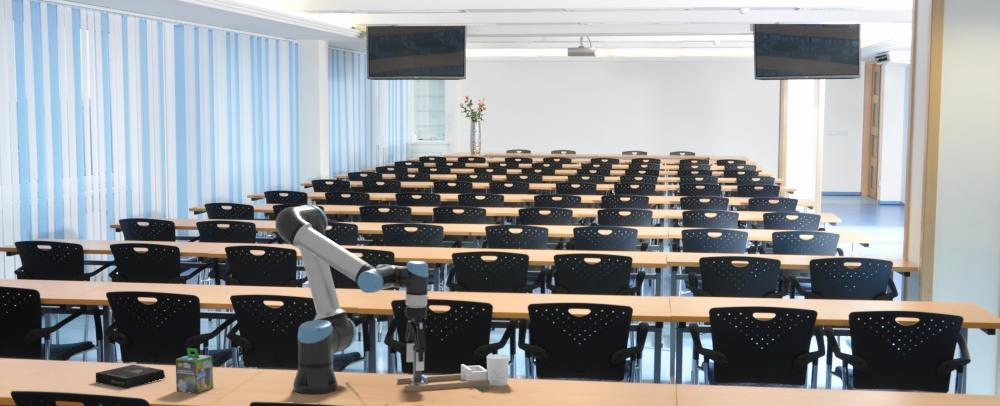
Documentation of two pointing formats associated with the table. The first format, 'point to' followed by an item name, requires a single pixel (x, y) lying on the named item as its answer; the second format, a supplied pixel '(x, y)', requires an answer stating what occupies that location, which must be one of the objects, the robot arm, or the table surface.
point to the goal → (473, 373)
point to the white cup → (497, 369)
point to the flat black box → (129, 376)
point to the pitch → (476, 384)
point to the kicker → (417, 372)
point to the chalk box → (194, 372)
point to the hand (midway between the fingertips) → (415, 366)
